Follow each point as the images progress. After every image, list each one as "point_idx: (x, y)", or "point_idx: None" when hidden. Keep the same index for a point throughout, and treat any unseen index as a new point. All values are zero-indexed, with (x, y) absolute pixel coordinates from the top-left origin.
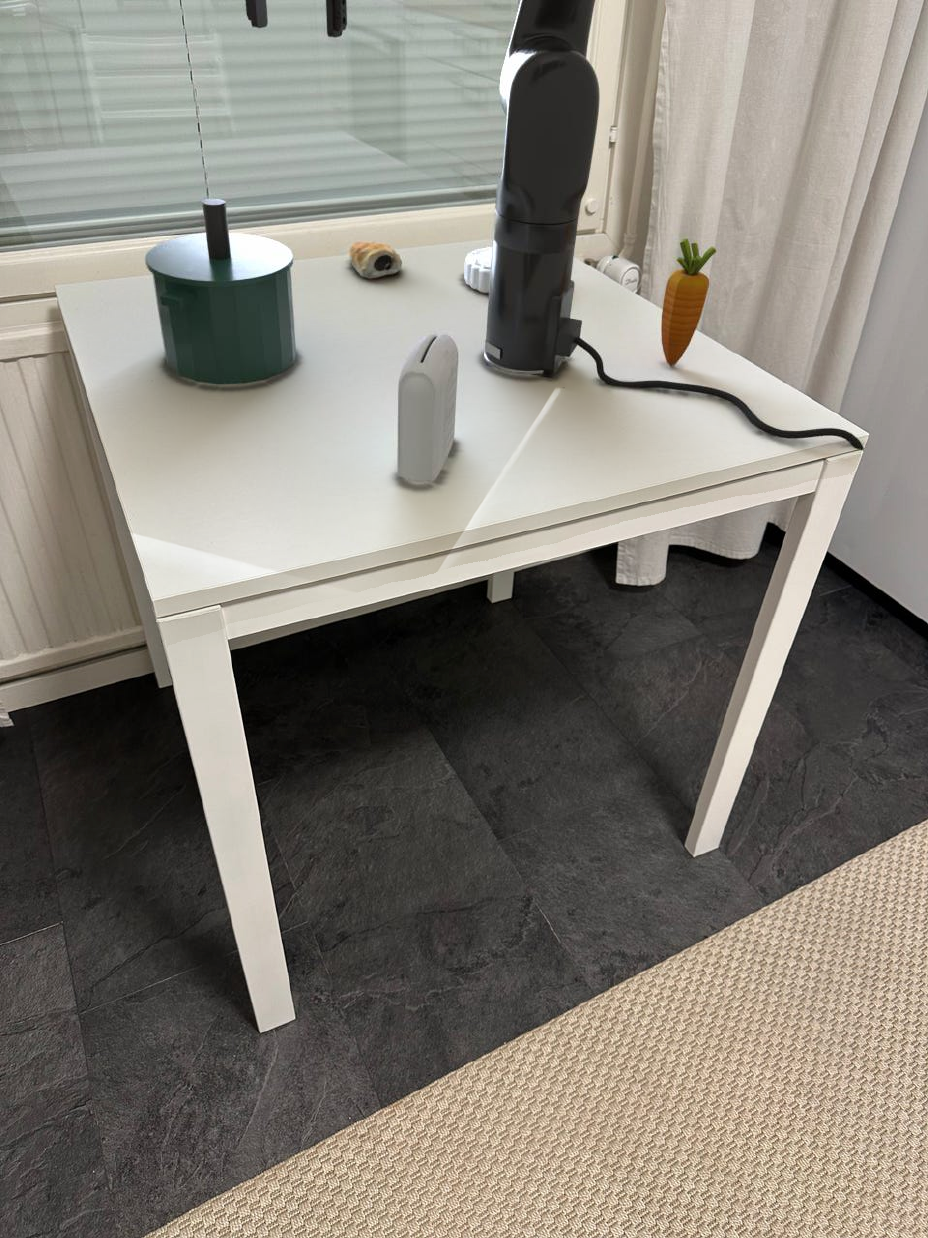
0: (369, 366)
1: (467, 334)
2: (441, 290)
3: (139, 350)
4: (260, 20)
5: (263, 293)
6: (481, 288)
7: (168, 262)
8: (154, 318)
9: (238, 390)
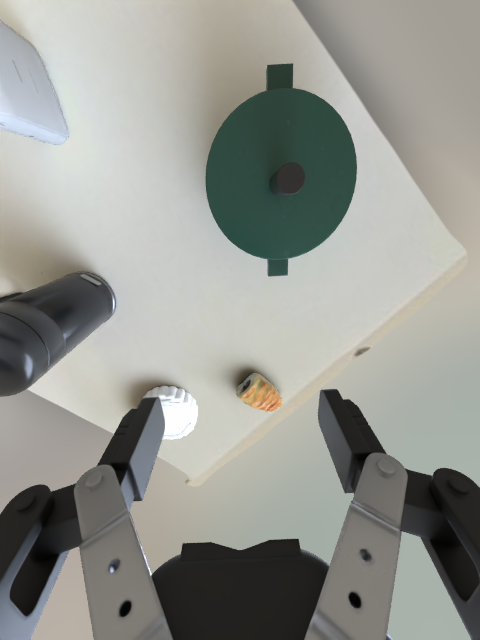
0: (173, 236)
1: (144, 321)
2: (199, 377)
3: None
4: (322, 405)
5: None
6: (173, 387)
7: (318, 130)
8: (363, 233)
9: None
